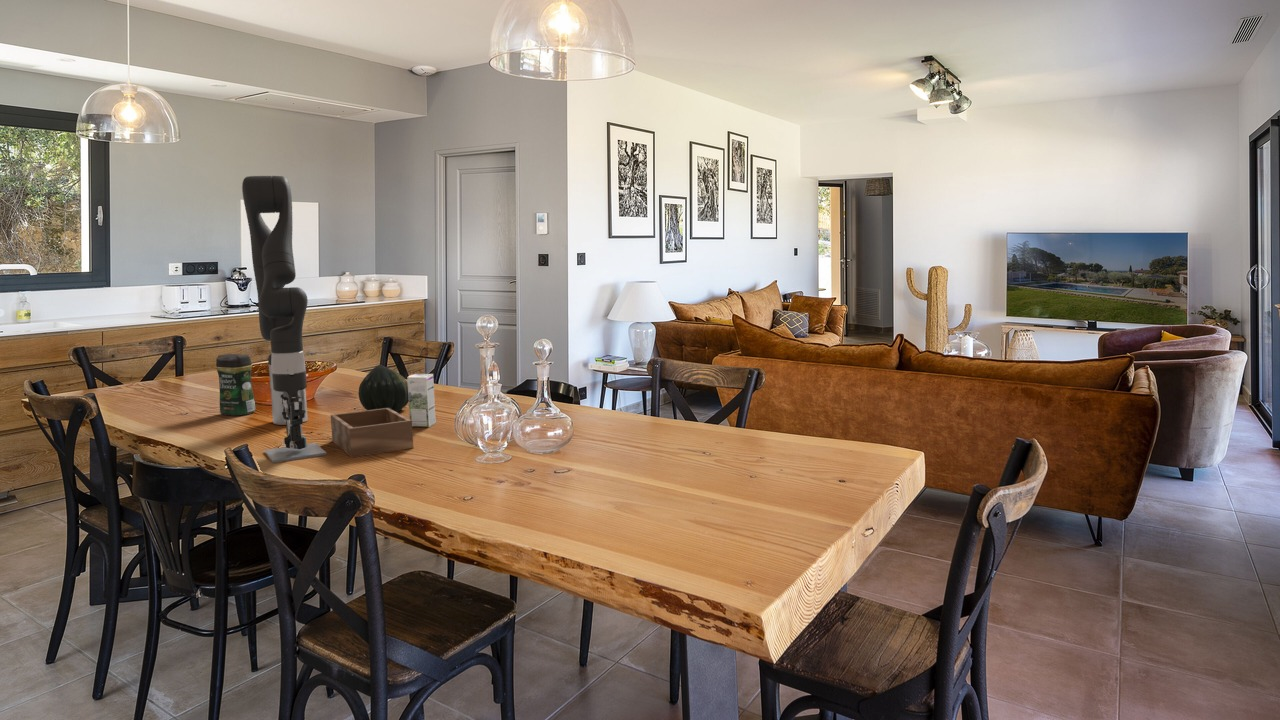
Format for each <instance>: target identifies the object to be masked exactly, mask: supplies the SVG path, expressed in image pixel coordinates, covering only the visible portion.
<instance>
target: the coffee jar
mask: <svg viewBox="0 0 1280 720" xmlns="http://www.w3.org/2000/svg"><path fill="white" fill-rule="evenodd" d="M215 361H216V363H215V368H216V371H217V375H218V381H219V413H220V414H221V415H224V416H225V415H226V416H235V417H237V416H243V415H245V416H246V415H250V414H252V413H254V412H255V411H256V404H255V397H254V396H255V395H254V391H253V385H252V368H253V364H252V359H251V356H250V355H248V354H242V353H241V354H239V353H228V354H220V355H218V356H217V357H216V360H215Z"/></svg>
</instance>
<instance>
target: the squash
mask: <svg viewBox="0 0 1280 720" xmlns="http://www.w3.org/2000/svg"><path fill="white" fill-rule="evenodd" d="M406 379H407V378H405V377H404V376H403V375H401V373H398V372H397V371H394V369H393V370H392V369H391V368H389V367H387V366H384V365H382V364H378V365H375V366H374V367H373V368H372V369H371V370H370V371H369V372H368V373H367V374H366V375H365V376H364V378H363V379H362V381H361V382H360V383H359V387H358V399H359V401H360V404H361V406H362V407H363V408H364V409H365V411H366V410H375V409H383V408H390V409H392V410H393V411H395V412H397V413H399V411H401V410H402V409H404V408H405V407H406V406H407V405H409V399H408V382H407V380H406Z"/></svg>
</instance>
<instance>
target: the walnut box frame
mask: <svg viewBox="0 0 1280 720" xmlns="http://www.w3.org/2000/svg"><path fill="white" fill-rule="evenodd" d="M330 427H331V441H332V442H333V443H334V444H335V445H337V446H338V447H339V448H340V449H341V450H342V451H344V452H345V453H346V454H347V455H349V456H350V457H351V458H357V457H362V456H369V455H376V454H382V453H388V452H389V453H391V452H397V451H402V450H409V449H414V435H413V434H414V433H413V427H412V420H410V418H408V417H406V416H405V415H403V414H402V413H401V414H400V413H399V412H395V411H393V410H392V409H390V408H383V409H375V410H366V409H365V410H359V411H352V412H350V411H349V412H344V413H335V414H330Z"/></svg>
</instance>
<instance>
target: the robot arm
mask: <svg viewBox="0 0 1280 720" xmlns="http://www.w3.org/2000/svg"><path fill="white" fill-rule="evenodd" d="M241 184H242V186H241V188H242V199H243V203H244V208H245V214H246V218H247V225H248V230H249V236H250V246H251V247H250V248H251V258H252V259H251V260H252V267H253V272H254V278H255V285H256V291H257V302H258V303H257V305H258V319H259V324H258V325H259V330H260V331H259V332H260V334H261V337H262V339H263V340H265V341H270V349H271V350H270V351H271V353H270V354H269V355H268V356H267V360H268V361H267V363H268V375H269V384H270V386H269V387H270V399H271V400H270V401H271V413H272V423H273V424H274V425H279V426H280V425H281V426H285V429H286V431H285V432H286V437H289V436H288V425H287V420H285V419H284V418H283V415H282V412H285V411H286V417H288V418H289V425H290V433H291V440H292V441H293V442H295V441H300V440H301V428H300V425H301V424H302V425H303V423H305V422H307V421H308V408H307V406H308V405H307V393H306V389H307V387H308V383H307V369H306V359H305V355H304V345H303V344H304V343H303V342H304V341H303V326H304V322H305V321H304V320H305V315H306V313H307V308H308V303H309V302H308V296H307V293H306V292H305V290H304V289H303V288H301V287H295V286H294V287H285V286H286V285H289V284H291V283H293V282H294V280H295V279H296V275H297V274H296V266H295V258H294V253H293V252H294V251H293V200H292V199H293V197H292V189H291V185H290V183H289V180H288V178H286V177H285V176H282V175H250V176H245V177H244V178H243V181H242V183H241ZM275 213H277V214H278V213H279V214H278V219H277V222H276V224H275V225H274V228H273V229H272V230H271V229H270V228H269V226H268V225H267V223H266V222H265V220H264V219H263V217H262V214H275ZM302 410H305V411H306V413H305V417H304V418H302ZM294 416H297V417H298V420H294Z"/></svg>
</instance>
